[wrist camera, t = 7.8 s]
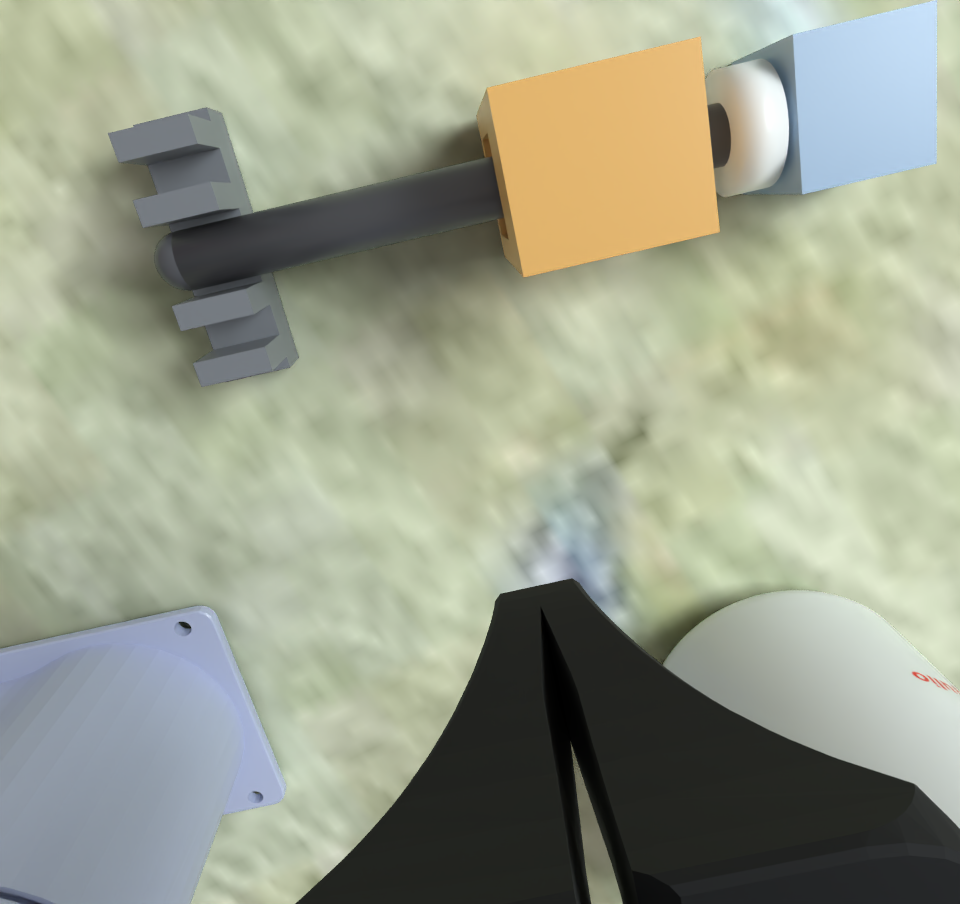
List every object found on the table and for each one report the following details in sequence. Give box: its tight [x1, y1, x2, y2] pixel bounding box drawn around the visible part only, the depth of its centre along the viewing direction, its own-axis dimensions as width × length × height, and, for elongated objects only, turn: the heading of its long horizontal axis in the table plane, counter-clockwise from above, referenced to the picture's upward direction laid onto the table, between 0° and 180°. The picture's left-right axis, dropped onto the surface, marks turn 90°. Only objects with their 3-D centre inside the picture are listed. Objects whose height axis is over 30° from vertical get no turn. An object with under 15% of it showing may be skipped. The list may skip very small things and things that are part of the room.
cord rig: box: [108, 0, 937, 387], centre depth 17 cm, size 18×6×3 cm, turn 102°
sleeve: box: [476, 37, 720, 277], centre depth 16 cm, size 4×4×5 cm
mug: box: [663, 590, 960, 828], centre depth 20 cm, size 12×9×11 cm
